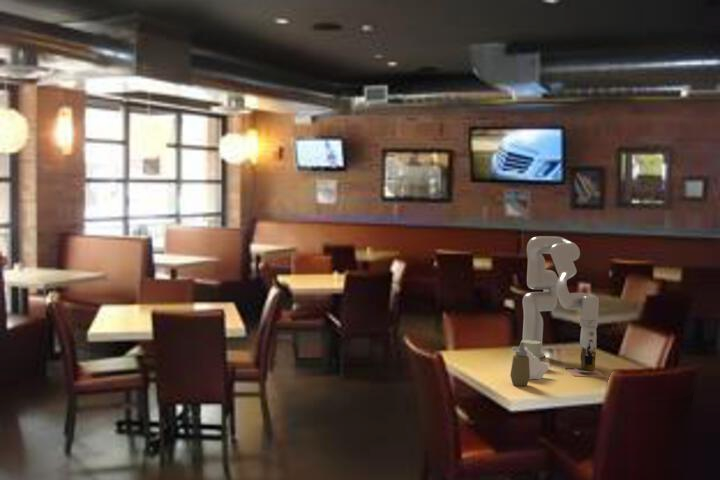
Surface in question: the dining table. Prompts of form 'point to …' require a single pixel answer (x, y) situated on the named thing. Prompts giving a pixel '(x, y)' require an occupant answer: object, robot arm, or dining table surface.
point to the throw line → (572, 368)
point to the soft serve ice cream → (535, 366)
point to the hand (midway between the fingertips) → (586, 362)
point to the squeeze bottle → (520, 367)
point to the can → (533, 347)
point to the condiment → (583, 366)
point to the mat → (585, 373)
